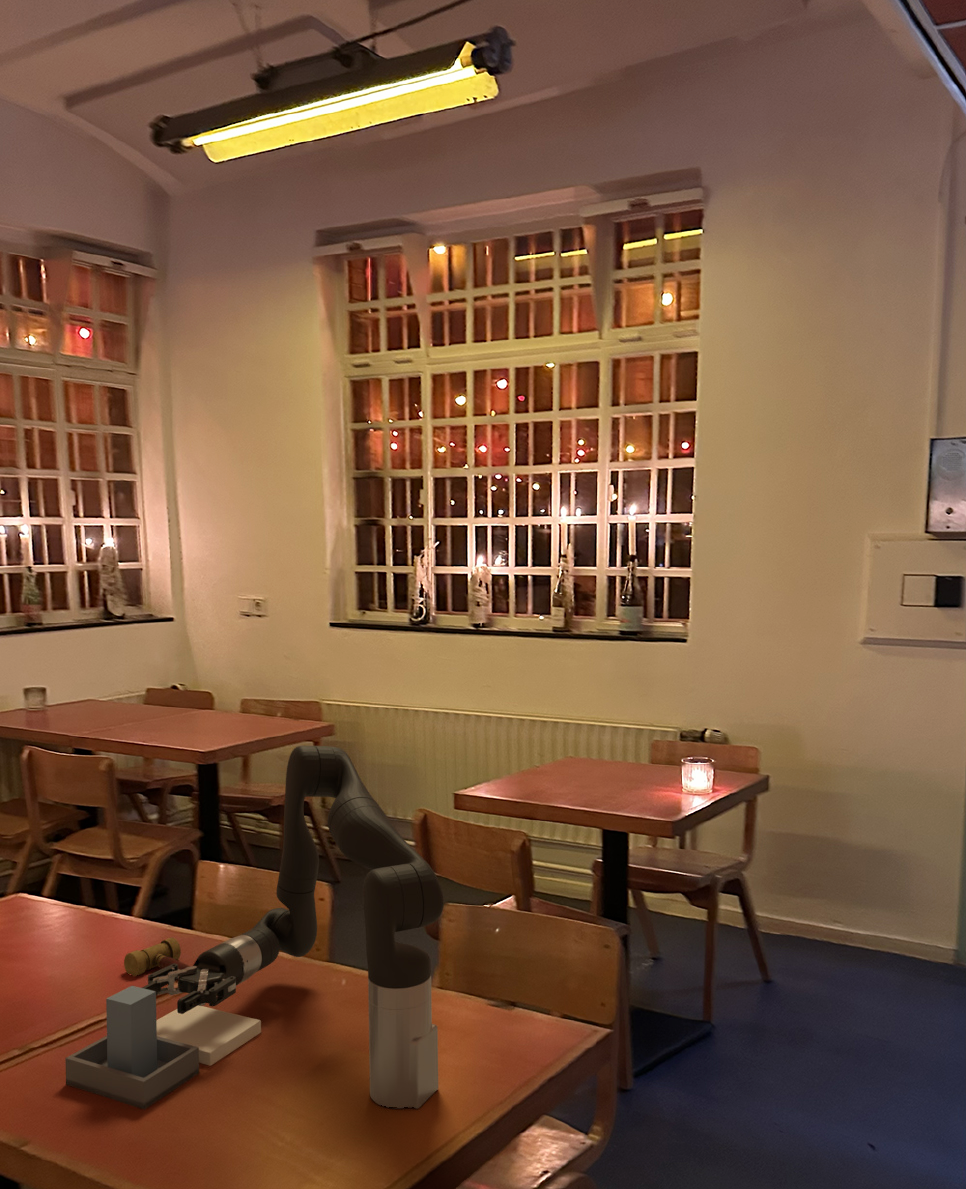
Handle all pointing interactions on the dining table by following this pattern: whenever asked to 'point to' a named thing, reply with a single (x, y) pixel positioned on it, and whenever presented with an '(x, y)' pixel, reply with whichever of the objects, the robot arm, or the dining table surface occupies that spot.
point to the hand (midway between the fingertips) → (158, 1002)
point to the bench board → (208, 1031)
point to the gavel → (154, 957)
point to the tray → (96, 1076)
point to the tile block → (132, 1031)
